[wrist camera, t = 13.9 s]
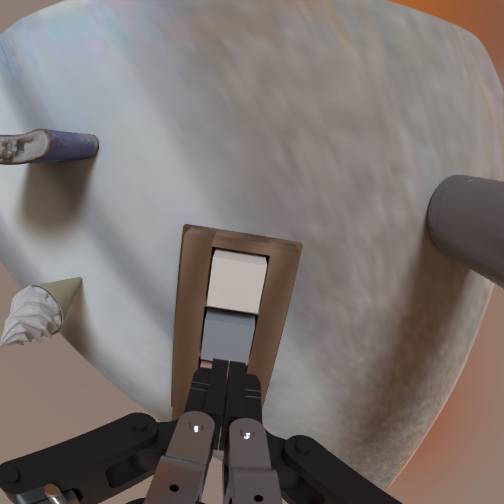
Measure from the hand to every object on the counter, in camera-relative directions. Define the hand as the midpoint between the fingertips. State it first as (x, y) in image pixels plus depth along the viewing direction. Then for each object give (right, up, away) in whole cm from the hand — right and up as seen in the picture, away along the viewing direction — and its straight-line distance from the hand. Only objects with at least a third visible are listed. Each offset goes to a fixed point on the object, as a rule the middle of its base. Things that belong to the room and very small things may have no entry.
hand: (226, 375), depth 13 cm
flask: (-18, +16, +13) cm, 28 cm away
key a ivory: (0, +4, +14) cm, 14 cm away
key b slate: (-1, -1, +15) cm, 16 cm away
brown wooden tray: (-1, -3, +19) cm, 19 cm away
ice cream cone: (-18, +3, +17) cm, 25 cm away
